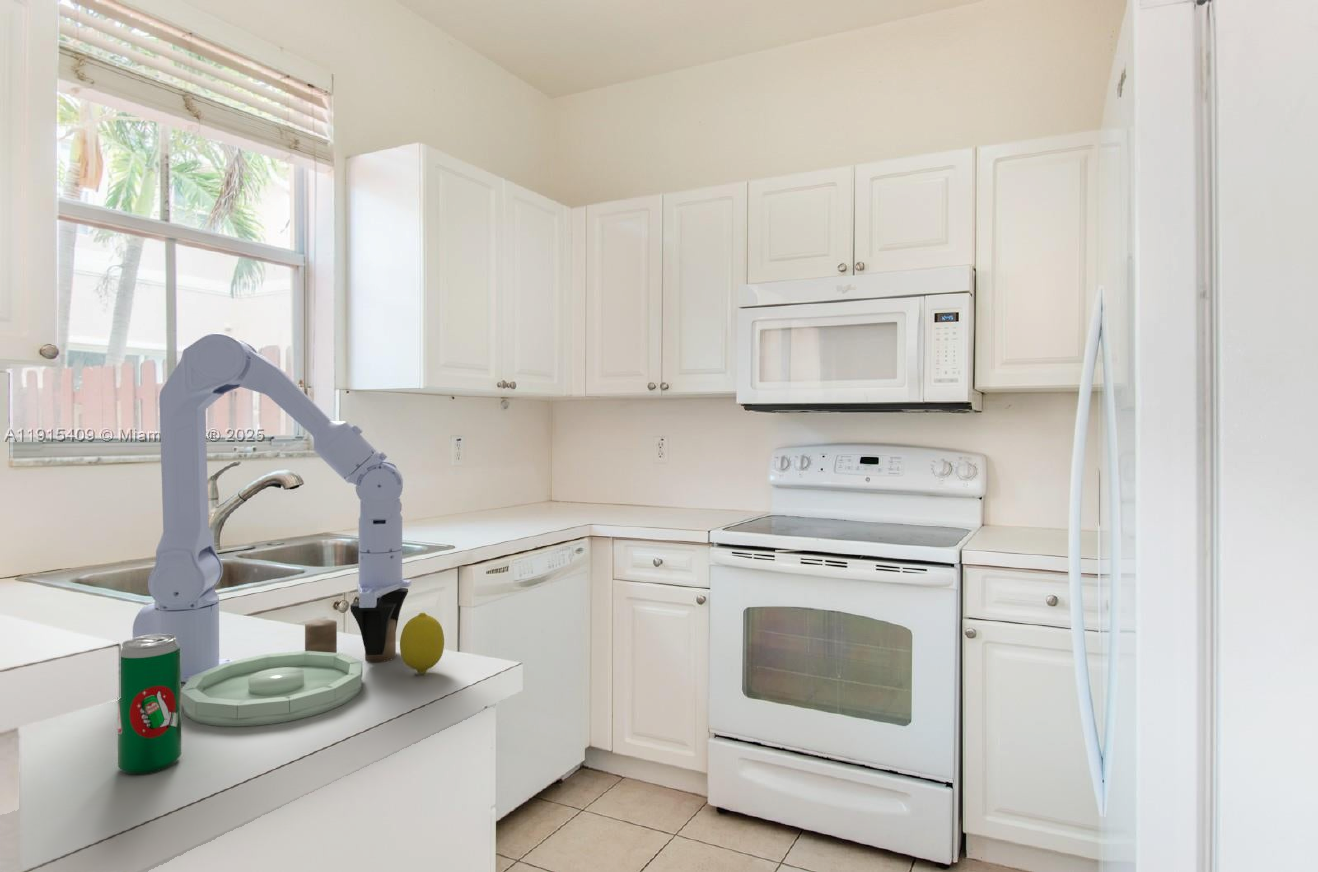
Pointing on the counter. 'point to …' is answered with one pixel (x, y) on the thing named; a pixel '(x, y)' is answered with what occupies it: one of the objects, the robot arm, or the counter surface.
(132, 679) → the soda can
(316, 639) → the bead
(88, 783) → the counter surface
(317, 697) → the tray
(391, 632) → the bead
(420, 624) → the lemon
